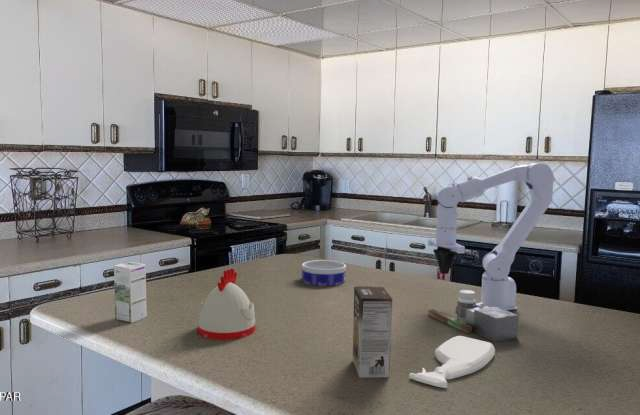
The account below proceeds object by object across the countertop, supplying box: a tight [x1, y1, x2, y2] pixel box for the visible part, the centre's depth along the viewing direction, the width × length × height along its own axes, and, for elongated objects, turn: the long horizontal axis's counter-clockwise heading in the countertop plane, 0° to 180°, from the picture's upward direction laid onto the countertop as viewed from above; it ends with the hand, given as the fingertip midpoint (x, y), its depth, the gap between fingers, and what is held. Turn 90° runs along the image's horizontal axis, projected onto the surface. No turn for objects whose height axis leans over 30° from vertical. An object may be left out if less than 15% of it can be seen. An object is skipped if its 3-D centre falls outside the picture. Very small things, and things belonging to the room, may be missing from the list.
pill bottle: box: [456, 289, 477, 324], centre depth 137 cm, size 5×5×8 cm
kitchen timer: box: [197, 268, 256, 341], centre depth 128 cm, size 14×14×15 cm
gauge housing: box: [472, 307, 519, 343], centre depth 128 cm, size 7×8×6 cm
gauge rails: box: [427, 305, 473, 334], centre depth 139 cm, size 11×16×2 cm
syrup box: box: [113, 261, 148, 324], centre depth 134 cm, size 6×6×14 cm
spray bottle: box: [408, 335, 496, 389], centre depth 109 cm, size 3×11×25 cm
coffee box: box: [352, 285, 393, 379], centre depth 106 cm, size 9×6×16 cm
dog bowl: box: [301, 259, 347, 287], centre depth 181 cm, size 15×15×6 cm
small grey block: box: [466, 302, 490, 332], centre depth 131 cm, size 7×7×7 cm
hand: (444, 273), depth 154 cm, fingers closed
